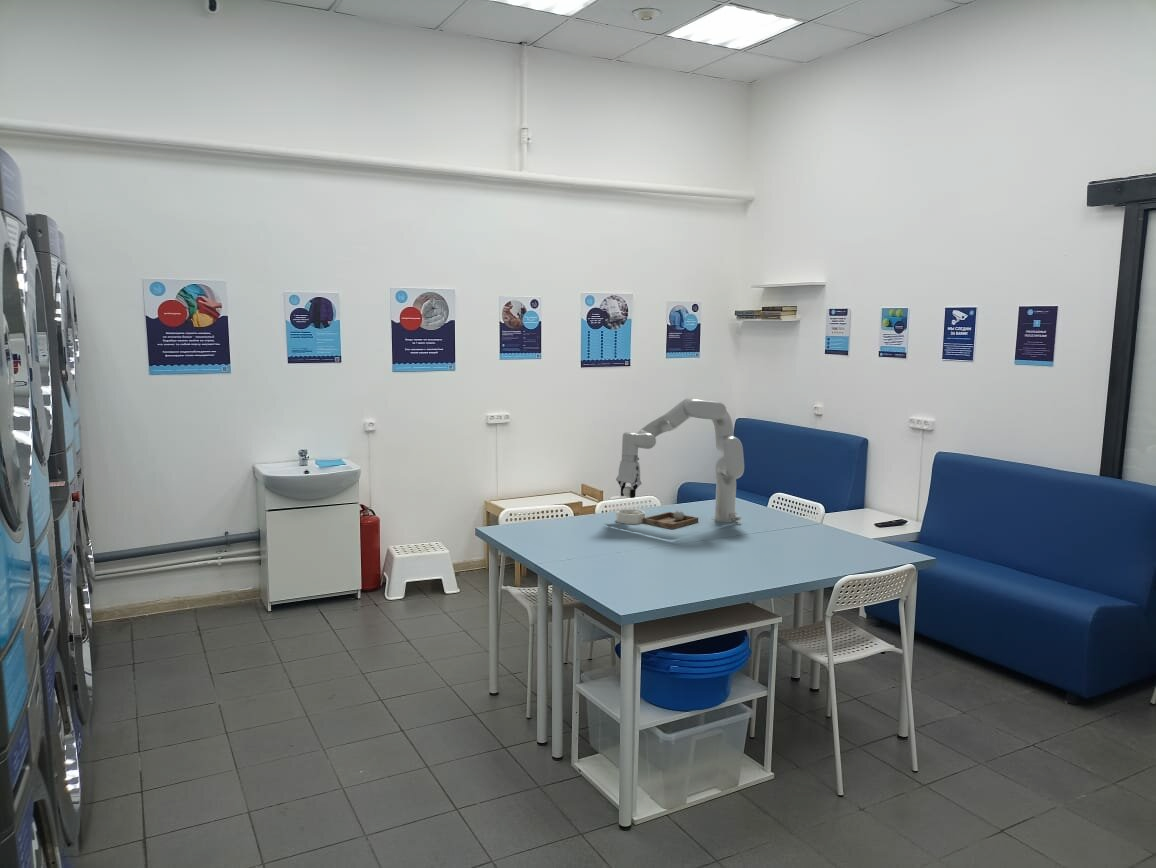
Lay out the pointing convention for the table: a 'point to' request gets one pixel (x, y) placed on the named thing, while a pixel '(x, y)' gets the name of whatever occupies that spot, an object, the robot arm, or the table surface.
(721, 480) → the robot arm
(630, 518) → the bowl
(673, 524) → the tray
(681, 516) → the pebble
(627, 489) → the pebble
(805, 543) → the table surface
